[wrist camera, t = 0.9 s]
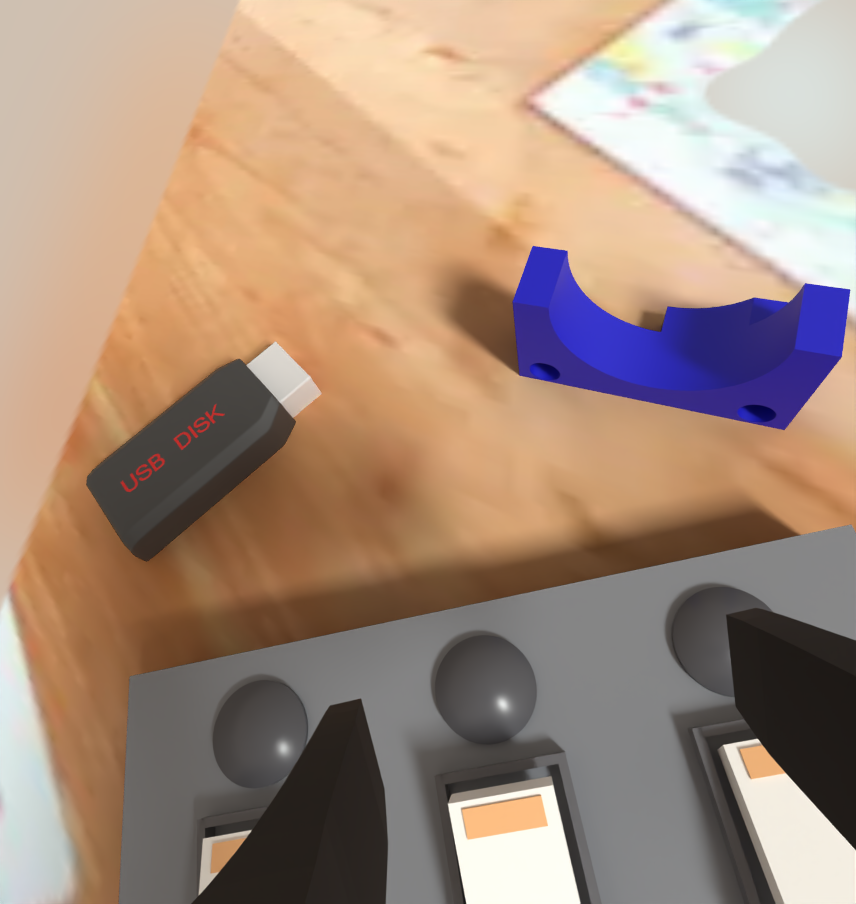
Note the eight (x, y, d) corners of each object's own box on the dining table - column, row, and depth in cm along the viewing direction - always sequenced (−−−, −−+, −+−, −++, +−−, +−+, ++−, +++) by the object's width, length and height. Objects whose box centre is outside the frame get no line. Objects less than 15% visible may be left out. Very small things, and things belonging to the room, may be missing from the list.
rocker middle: (604, 1005, 17) (609, 1031, 16) (494, 1021, 17) (492, 1047, 16) (551, 776, 19) (552, 785, 18) (451, 794, 19) (447, 804, 18)
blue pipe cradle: (796, 347, 28) (854, 258, 23) (783, 431, 26) (841, 357, 21) (543, 305, 32) (542, 219, 26) (519, 377, 30) (512, 301, 25)
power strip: (1262, 913, 18) (1425, 956, 14) (164, 1069, 21) (92, 1133, 18) (1005, 507, 23) (1079, 472, 20) (171, 681, 27) (118, 675, 23)
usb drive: (106, 494, 32) (69, 475, 30) (280, 351, 34) (259, 322, 31) (150, 564, 30) (114, 549, 27) (334, 407, 32) (316, 380, 29)
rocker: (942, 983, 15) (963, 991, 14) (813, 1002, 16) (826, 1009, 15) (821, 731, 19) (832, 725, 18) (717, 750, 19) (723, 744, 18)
